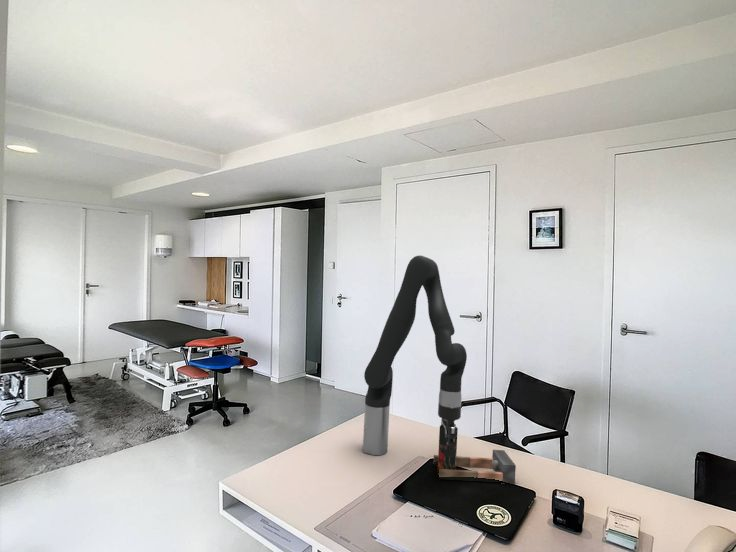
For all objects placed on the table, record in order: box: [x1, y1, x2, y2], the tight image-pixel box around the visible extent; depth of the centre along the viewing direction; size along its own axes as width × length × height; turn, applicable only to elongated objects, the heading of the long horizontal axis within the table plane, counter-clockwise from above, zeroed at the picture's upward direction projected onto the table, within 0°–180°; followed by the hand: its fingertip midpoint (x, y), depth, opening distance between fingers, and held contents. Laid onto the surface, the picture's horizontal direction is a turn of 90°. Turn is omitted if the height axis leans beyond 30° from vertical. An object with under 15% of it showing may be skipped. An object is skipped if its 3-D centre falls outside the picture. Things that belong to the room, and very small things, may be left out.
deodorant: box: [437, 424, 459, 470], centre depth 133 cm, size 6×6×15 cm
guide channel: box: [433, 449, 517, 485], centre depth 133 cm, size 24×11×6 cm, turn 89°
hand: (447, 450), depth 133 cm, fingers open, 8 cm apart
